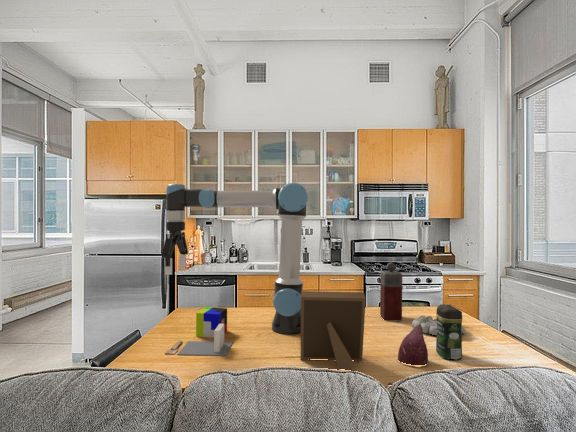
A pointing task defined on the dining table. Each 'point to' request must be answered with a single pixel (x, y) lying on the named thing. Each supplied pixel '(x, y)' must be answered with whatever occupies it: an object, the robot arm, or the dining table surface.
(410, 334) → the vegetable
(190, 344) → the mat
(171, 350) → the wooden turner
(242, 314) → the dining table surface
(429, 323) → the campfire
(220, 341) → the tile
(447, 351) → the coffee jar
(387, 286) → the dark red tall bottle
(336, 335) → the photo frame
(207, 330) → the puzzle toy
